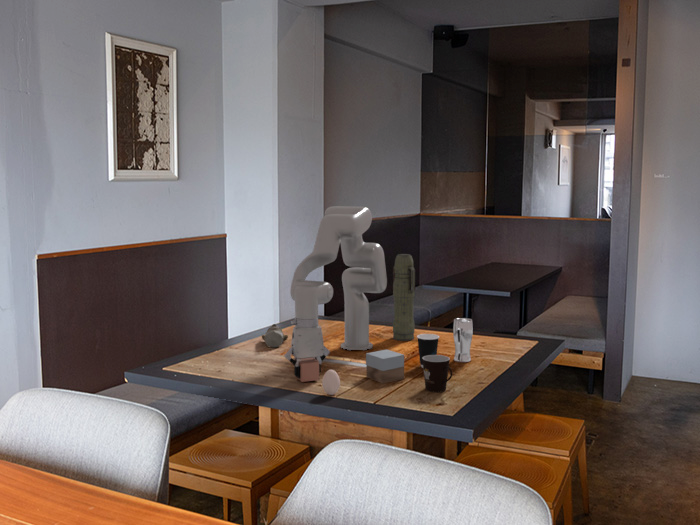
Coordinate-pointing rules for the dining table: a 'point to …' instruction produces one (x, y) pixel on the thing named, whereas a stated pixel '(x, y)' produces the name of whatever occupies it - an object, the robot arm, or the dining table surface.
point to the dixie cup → (427, 345)
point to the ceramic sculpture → (274, 336)
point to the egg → (331, 382)
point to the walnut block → (385, 374)
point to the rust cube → (309, 369)
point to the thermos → (403, 297)
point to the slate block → (385, 360)
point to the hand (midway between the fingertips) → (307, 375)
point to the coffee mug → (436, 372)
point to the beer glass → (462, 339)
